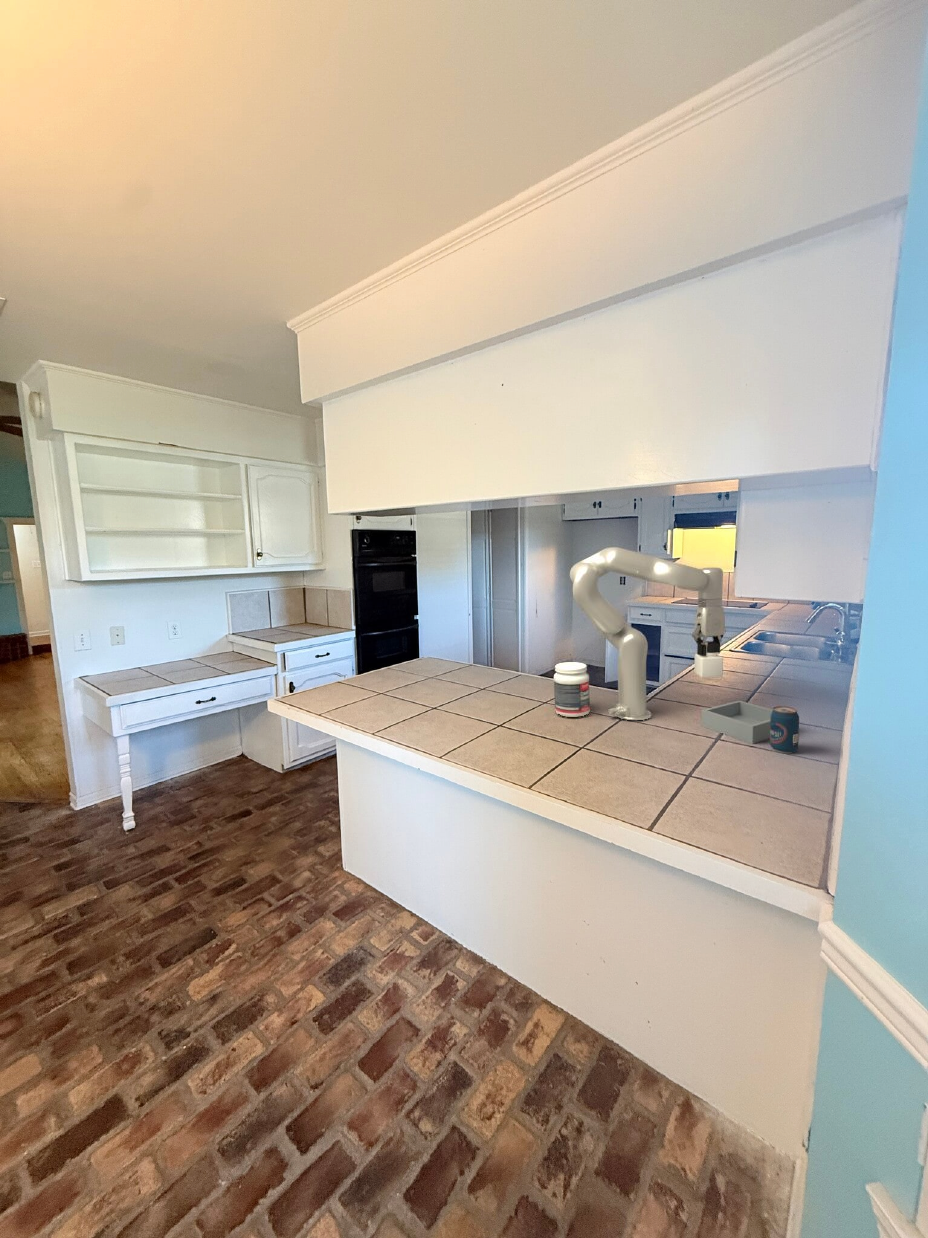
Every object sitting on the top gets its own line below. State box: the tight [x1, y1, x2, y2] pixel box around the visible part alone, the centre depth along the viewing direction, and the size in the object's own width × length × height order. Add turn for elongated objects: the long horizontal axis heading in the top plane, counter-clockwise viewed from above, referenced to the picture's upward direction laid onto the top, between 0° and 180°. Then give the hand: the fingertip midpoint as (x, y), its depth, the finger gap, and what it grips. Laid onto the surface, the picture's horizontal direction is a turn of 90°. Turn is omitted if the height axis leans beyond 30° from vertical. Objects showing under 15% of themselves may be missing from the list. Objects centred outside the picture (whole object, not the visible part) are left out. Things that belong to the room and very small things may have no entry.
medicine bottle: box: [693, 640, 724, 679], centre depth 173 cm, size 7×7×12 cm
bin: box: [700, 700, 773, 745], centre depth 158 cm, size 18×18×6 cm
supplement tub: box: [553, 661, 591, 717], centre depth 182 cm, size 13×13×18 cm
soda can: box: [769, 705, 800, 754], centre depth 141 cm, size 7×7×12 cm
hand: (708, 653), depth 173 cm, fingers closed on medicine bottle, 6 cm apart
